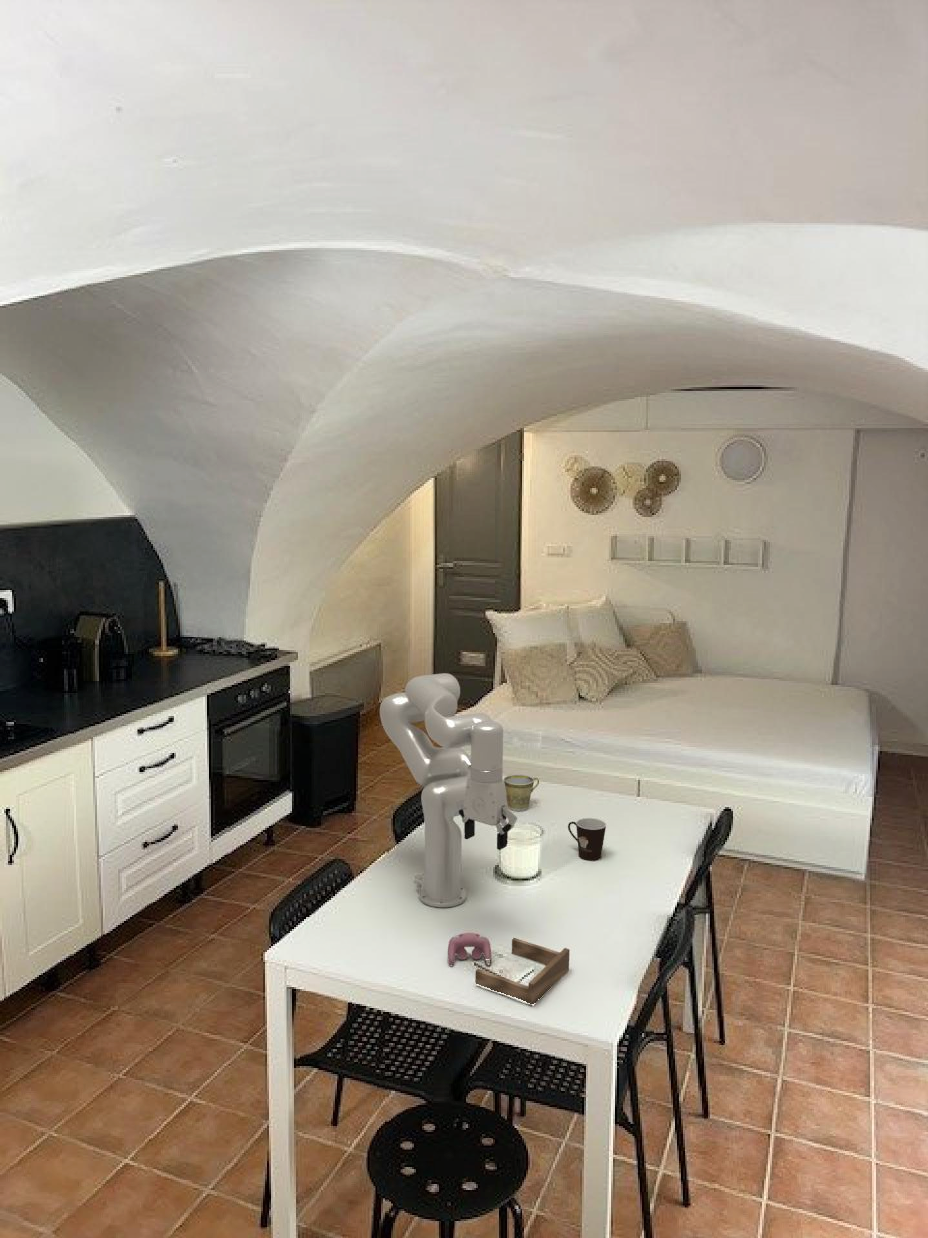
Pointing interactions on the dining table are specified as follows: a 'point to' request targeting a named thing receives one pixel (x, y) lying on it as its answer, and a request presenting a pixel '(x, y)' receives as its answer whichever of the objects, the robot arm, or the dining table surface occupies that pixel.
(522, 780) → the ceramic cup
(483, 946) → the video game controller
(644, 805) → the dining table surface
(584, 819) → the coffee mug
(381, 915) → the dining table surface
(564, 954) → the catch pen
